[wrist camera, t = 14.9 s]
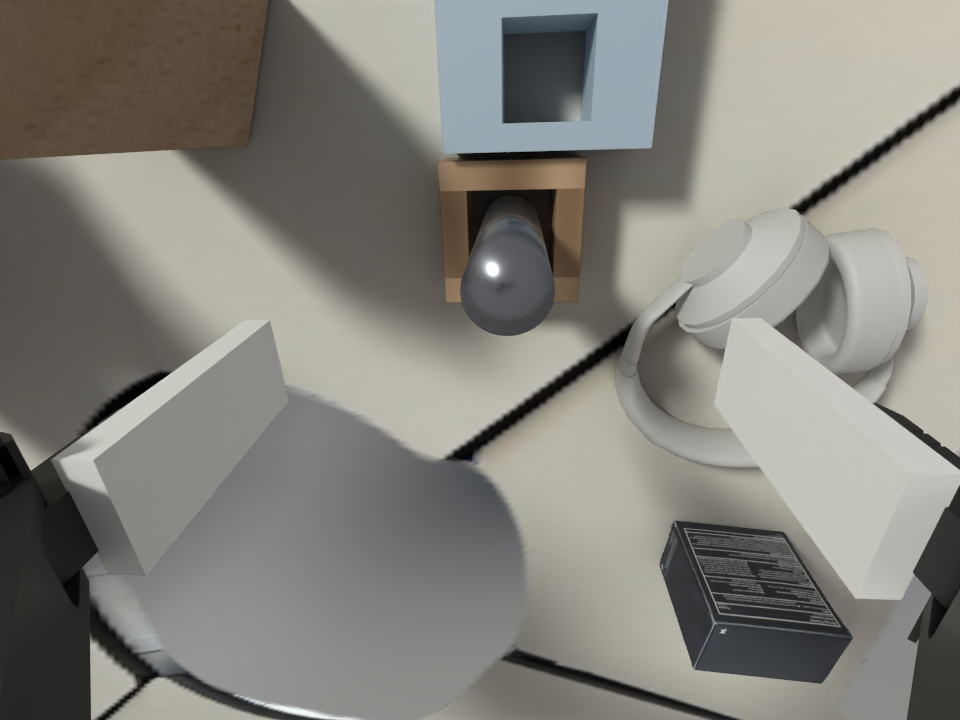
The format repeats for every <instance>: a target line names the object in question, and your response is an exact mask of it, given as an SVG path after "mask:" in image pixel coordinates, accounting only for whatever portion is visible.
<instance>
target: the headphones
mask: <svg viewBox="0 0 960 720" xmlns="http://www.w3.org/2000/svg"><path fill="white" fill-rule="evenodd" d="M676 301H677V303H676V307H675V309H676V316H677V318H678V321H679V326H680V327H681V328H683V329H684V330H685V331H686V332H687V333H689V334H690V335H691V336H693V337H694V338H695V339H697V340H698V341H699V342H701V343H702V344H703V345H705V346H706V347H711V348H718V349H726V344H727V339H728V335H729V330H730V325H731V320H732V318H761V319H763V320H764V321H765V322H766V323H768V324H769V325H770V326H772V327H773V328H774V327H775V326H777V325H778V324H780V323H781V322H783V321H784V320H785V319H786V318H787V317H788V316H789V315H790V314H792V313H793V312H794V311H795V312H796V324H797V330H798V335H799V339H800V342H801V345H802V348H803V351H804V352H806V353H807V354H808V355H810V356H811V357H812V358H814V359H815V360H816V361H818V362H819V363H820V364H822V365H823V366H824V367H825V368H827V369H828V370H829V371H831V372H832V373H833V374H842V373H851V372H860V371H868V370H869V371H868V372H867V373H866V374H865V375H864V376H863V378H862V379H861V380H860V381H859V382H858V383H857V384H856V385H855V386H853V387H852V388H853V389H854V390H856V391H857V392H858V393H859V394H861V395H862V396H863V397H865V398H866V399H867V400H869V401H870V402H871V403H876V402H877V401H878V399H879V398H880V397H881V396H882V394H883V393H884V391H885V390H886V389H887V387H888V382H889V381H890V379H891V376H892V373H893V368H894V362H895V356H896V351H897V349H898V348H899V347H900V344H901V342H902V339H903V337H904V335H905V332H906V331H909V330H910V329H912V328H914V327H915V326H916V325H917V324H918V322H919V321H920V320H921V318H922V316H923V313H924V311H925V308H926V303H927V281H926V277H925V273H924V271H923V269H922V267H921V265H920V264H919V263H918V262H917V261H916V260H915V259H912V258H909V257H905V256H904V254H903V252H902V250H901V248H900V246H899V244H898V242H897V241H896V240H895V239H894V238H893V237H892V236H891V235H890V234H889V233H888V232H886V231H884V230H879V229H875V228H872V229H866V230H858V231H852V232H846V233H839V234H833V235H828V236H826V237H824V236H823V234H822V233H821V232H820V231H818V230H817V229H816V228H815V227H814V226H813V225H812V224H811V223H810V222H809V221H807V220H806V219H805V218H804V217H803V216H802V215H800V214H799V213H798V212H797V211H796V210H793V209H788V208H779V209H775V210H771V211H767V212H765V213H763V214H761V215H759V216H757V217H755V218H753V219H750V220H748V221H746V222H745V221H744V220H743V219H739V218H736V219H732V220H729V221H727V222H725V223H723V224H721V225H720V226H718V227H717V228H715V229H714V230H713V231H711V232H710V233H709V234H708V235H707V236H706V237H704V238H703V239H702V240H701V241H700V242H699V243H698V244H697V246H696V247H695V248H694V249H693V250H692V251H691V253H690V254H689V256H688V257H687V258H686V260H685V262H684V264H683V266H682V268H681V272H680V277H679V278H678V279H677V280H676V281H675V282H674V283H673V284H672V285H671V286H669V287H668V288H667V289H666V290H665V291H664V292H663V293H662V294H661V295H660V296H659V297H658V298H657V299H656V300H655V301H654V302H652V303H651V304H650V305H649V306H647V307H646V308H645V309H644V310H643V312H642V313H641V314H640V315H639V317H638V319H637V320H635V322H634V324H633V326H632V328H631V330H630V332H629V335H628V338H627V341H626V343H625V346H624V348H623V351H622V354H621V355H620V356H619V358H618V363H617V368H616V373H615V385H616V389H617V394H618V398H619V401H620V403H621V405H622V407H623V409H624V411H625V413H626V415H627V416H628V418H629V419H630V420H631V422H632V423H633V424H634V425H635V426H636V427H637V428H638V430H639V431H640V432H641V433H642V434H643V435H644V436H645V437H646V438H647V439H648V440H649V441H650V442H651V443H653V444H655V445H657V446H659V447H661V448H663V449H665V450H667V451H669V452H670V453H672V454H674V455H676V456H679V457H681V458H684V459H687V460H689V461H693V462H697V463H700V464H705V465H711V466H718V467H730V468H760V467H759V466H758V464H757V463H756V462H755V460H754V459H753V458H752V456H751V455H750V454H749V452H748V451H747V449H746V448H745V447H744V445H743V444H742V443H741V441H740V440H739V438H738V437H737V436H736V434H735V433H734V432H733V430H732V429H711V428H705V427H698V426H695V425H691V424H688V423H685V422H683V421H680V420H678V419H676V418H674V417H672V416H670V415H668V414H666V413H665V412H663V411H662V410H661V409H659V408H658V407H657V406H656V405H655V404H654V403H653V402H652V401H651V400H650V399H649V397H648V396H647V394H646V393H645V391H644V389H643V387H642V385H641V382H640V379H639V375H638V368H637V365H638V359H639V356H640V352H641V349H642V345H643V342H644V339H645V337H646V335H647V332H648V330H649V329H650V327H651V326H652V324H653V323H654V322H655V321H656V320H657V319H658V318H659V317H660V316H661V315H662V314H663V313H665V312H666V311H667V310H668V309H669V308H670V307H671V306H672V305H673V304H674V303H675V302H676Z"/></svg>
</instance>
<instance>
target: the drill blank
mask: <svg viewBox="0 0 960 720" xmlns="http://www.w3.org/2000/svg"><path fill="white" fill-rule="evenodd" d="M460 296H461V301H462V305H463V307H464V310H465V311H466V313H467V315H468V316H469V317H470V319H471V320H472V321H473V322H474V323H475V324H476V325H477V326H479V327H480V328H482V329H483V330H485V331H487V332H490V333H493V334H496V335H502V336H513V335H519V334H522V333H525V332H527V331H530V330H531V329H533V328H535V327H536V326H537V325H539V324H540V323H541V322H542V321H543V320H544V319H545V317H546V316H547V315H548V313H549V311H550V309H551V307H552V305H553V301H554V296H555V284H554V279H553V274H552V270H551V266H550V262H549V258H548V254H547V250H546V246H545V242H544V238H543V234H542V230H541V226H540V222H539V218H538V214H537V212H536V210H535V208H534V207H533V205H532V204H531V203H530V202H529V201H527V200H526V199H524V198H522V197H519V196H513V195H510V196H504V197H501V198H499V199H497V200H496V201H494V202H493V203H492V204H491V205H490V206H489V208H488V209H487V211H486V213H485V216H484V219H483V221H482V224H481V227H480V230H479V232H478V235H477V238H476V240H475V243H474V246H473V249H472V251H471V254H470V257H469V259H468V262H467V265H466V268H465V270H464V273H463V276H462V279H461V285H460Z"/></svg>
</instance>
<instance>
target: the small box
mask: <svg viewBox="0 0 960 720" xmlns="http://www.w3.org/2000/svg"><path fill="white" fill-rule="evenodd" d="M660 568H661V571H662V574H663V577H664V580H665V583H666V586H667V589H668V592H669V595H670V598H671V601H672V604H673V607H674V610H675V613H676V616H677V619H678V623H679V626H680V629H681V632H682V635H683V638H684V641H685V644H686V647H687V650H688V653H689V656H690V659H691V662H692V667H693V669H694V670H701V671H710V672H719V673H729V674H738V675H747V676H757V677H766V678H775V679H784V680H793V681H802V682H811V683H819V684H821V683H822V682H823V681H824V680H825V678H826V677H827V676H828V674H829V673H830V671H831V670H832V668H833V667H834V665H835V664H836V662H837V661H838V659H839V658H840V656H841V655H842V653H843V652H844V650H845V649H846V647H847V646H848V644H849V643H850V642H851V640H852V639H853V637H852V635H851V634H850V632H849V631H848V629H847V628H846V627H845V626H844V625H843V623H842V621H841V620H840V618H839V617H838V615H836V613H835V611H834V610H833V608H832V607H831V605H830V603H829V602H828V601H827V600H826V597H825V596H824V595H823V593H822V591H821V590H820V588H819V587H818V585H817V584H816V582H815V580H814V579H813V577H812V576H811V574H810V573H809V571H808V570H807V568H806V567H805V565H804V564H803V562H802V560H801V559H800V557H799V556H798V554H797V553H796V551H795V550H794V548H793V546H792V545H791V543H790V542H789V540H788V539H787V536H786V535H785V533H784V532H777V531H768V530H758V529H748V528H738V527H729V526H719V525H710V524H700V523H690V522H680V521H675V522H674V523H673V524H672V527H671V533H670V534H669V538H668V541H667V544H666V547H665V550H664V553H663V554H662V558H661V562H660Z"/></svg>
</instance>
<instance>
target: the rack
mask: <svg viewBox="0 0 960 720" xmlns="http://www.w3.org/2000/svg"><path fill="white" fill-rule="evenodd" d="M586 159H587V158H585V157H582V156H580V155H564V156H526V157H487V158H448V159H444V160H442V161H439V162H438V176H439V193H440V210H441V226H442V243H443V260H444V276H445V293H446V302H462V301H461V296H460V285H461V279H462V276H463V273H464V270H465V268H466V265H467V262H468V259H469V257H470V254H471V251H472V249H473V246H474V235H473V204H472V191H477V190H525V189H552V212H551V241H550V266H551V270H552V274H553V279H554V284H555V296H554V301H553V302H578V287H579V271H580V255H581V239H582V223H583V207H584V191H585V175H586Z"/></svg>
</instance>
